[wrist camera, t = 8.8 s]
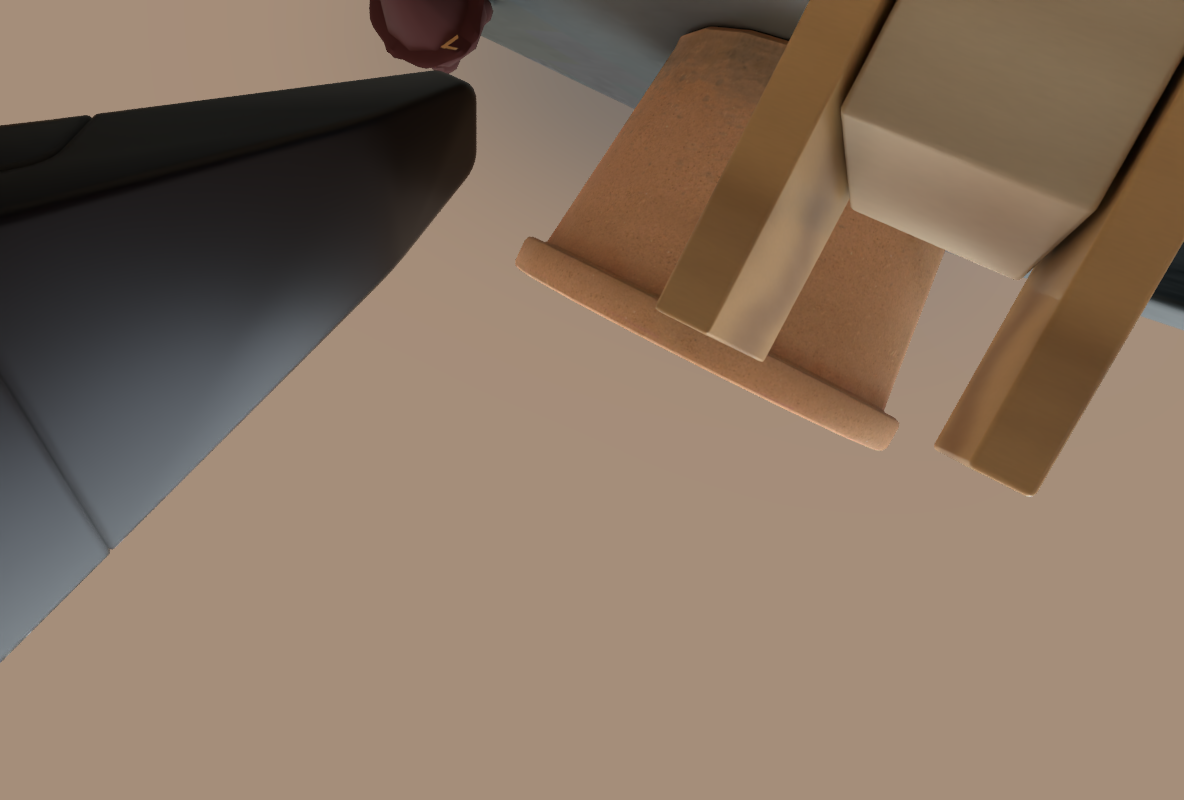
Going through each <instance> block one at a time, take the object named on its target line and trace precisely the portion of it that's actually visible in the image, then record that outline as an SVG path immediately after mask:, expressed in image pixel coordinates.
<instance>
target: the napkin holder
mask: <svg viewBox="0 0 1184 800" xmlns="http://www.w3.org/2000/svg"><path fill="white" fill-rule="evenodd" d="M849 199H850V207H851V208H852V209H853V210H854V211H857V212H859V213H861V214H864V215H866V216H868V217H871V218H873V219H875V220H877V221H880V222H882V223H884V224H887V225H889V226H891V227H894V228H896V229H898V230H900V231H903V232H905V233H907V234H910V235H912V236H914V237H917V238H919V239H921V240H923V241H926V242H928V243H930V244H933V245H935V246H937V247H940V248H942V249H944V250H946V251H949V252H951V253H953V254H956V255H958V256H960V257H963V258H965V259H967V260H969V261H972V262H974V263H976V264H979V265H981V266H983V267H986V268H988V269H991V270H992V271H995V272H997V273H999V274H1002V275H1004V276H1007V277H1009V278H1011V279H1013V280H1020V279H1021V278H1023V277H1024V276H1025V275H1026V274H1027V273H1028V272H1029V271H1030V270H1031V269H1032V268H1033V270H1032V272H1031V273H1030V275H1029V277H1028V279H1027V281H1026V282H1025V284H1024V286H1023V288H1022V289H1021V291H1020V293H1019V295H1018V297H1017V298H1016V300H1015V302H1014V304H1013V305H1012V307H1011V309H1010V311H1009V313H1008V314H1007V316H1006V318H1005V320H1004V322H1003V323H1002V325H1001V327H1000V329H999V331H998V332H997V334H996V336H995V338H994V339H993V341H992V343H991V345H990V346H989V348H988V350H987V352H986V354H985V355H984V357H983V359H982V361H981V362H980V364H979V366H978V368H977V370H976V371H975V373H974V375H973V377H972V378H971V380H970V382H969V384H968V386H967V387H966V389H965V391H964V393H963V394H962V396H961V398H960V400H959V402H958V403H957V405H956V407H955V409H954V410H953V412H952V414H951V416H950V418H949V419H948V421H947V423H946V425H945V426H944V428H943V430H942V432H941V434H940V435H939V437H938V439H937V441H936V443H935V446H934V448H935V449H936V450H937V451H939V452H941V453H943V454H945V455H947V456H948V457H950V458H952V459H954V460H956V461H958V462H960V463H962V464H963V465H965V466H967V467H969V468H971V469H973V470H975V471H977V472H979V473H981V474H983V475H985V476H987V477H989V478H991V479H993V480H995V481H997V482H999V483H1001V484H1003V485H1005V486H1007V487H1009V488H1011V489H1013V490H1015V491H1017V492H1019V493H1021V494H1023V495H1025V496H1029V497H1032V496H1034V495H1035V494H1036V493H1037V492H1038V490H1039V488H1040V487H1041V485H1042V483H1043V481H1044V480H1045V478H1046V476H1047V475H1048V473H1049V471H1050V469H1051V468H1052V466H1053V464H1054V463H1055V461H1056V459H1057V457H1058V456H1059V454H1060V452H1061V451H1062V449H1063V447H1064V446H1065V444H1066V442H1067V440H1068V439H1069V437H1070V435H1071V434H1072V432H1073V430H1074V428H1075V427H1076V425H1077V423H1078V421H1079V420H1080V418H1081V416H1082V415H1083V413H1084V411H1085V410H1086V408H1087V406H1088V404H1089V403H1090V401H1091V399H1092V397H1093V396H1094V394H1095V392H1096V391H1097V389H1098V387H1099V385H1100V384H1101V382H1102V380H1103V379H1104V377H1105V375H1106V374H1107V372H1108V370H1109V368H1110V367H1111V365H1112V363H1113V362H1114V360H1115V358H1116V356H1117V355H1118V353H1119V351H1120V350H1121V348H1122V346H1123V344H1124V343H1125V341H1126V339H1127V338H1128V335H1129V334H1130V332H1131V331H1132V329H1133V327H1134V326H1135V324H1136V322H1137V320H1138V319H1139V317H1140V315H1141V314H1142V312H1143V310H1144V308H1145V307H1146V305H1147V303H1148V302H1149V300H1150V298H1151V296H1152V295H1153V293H1154V291H1155V290H1156V288H1157V286H1158V284H1159V283H1160V281H1161V279H1162V278H1163V276H1164V274H1165V272H1166V271H1167V269H1168V267H1169V266H1170V264H1171V262H1172V260H1173V259H1174V257H1175V255H1176V254H1177V252H1178V250H1179V248H1180V247H1181V245H1182V243H1183V242H1184V0H810V1H809V3H808V5H807V7H806V8H805V10H804V12H803V14H802V16H801V18H800V20H799V22H798V24H797V26H796V28H795V30H794V32H793V34H792V36H791V38H790V40H789V42H788V44H787V46H786V48H785V50H784V52H783V54H782V56H781V58H780V60H779V62H778V64H777V66H776V68H775V70H774V72H773V74H772V76H771V78H770V80H769V82H768V84H767V86H766V88H765V90H764V92H763V94H762V96H761V98H760V100H759V102H758V104H757V106H756V108H755V109H754V111H753V113H752V115H751V117H750V119H749V121H748V123H747V125H746V127H745V129H744V131H743V133H742V135H741V137H740V139H739V141H738V143H737V145H736V147H735V149H734V151H733V153H732V155H731V157H730V159H729V161H728V163H727V165H726V167H725V169H724V171H723V173H722V175H721V177H720V179H719V181H718V183H717V185H716V187H715V189H714V191H713V193H712V195H711V197H710V199H709V201H708V203H707V205H706V207H705V209H704V210H703V212H702V214H701V216H700V218H699V220H698V222H697V224H696V226H695V228H694V230H693V232H692V234H691V236H690V238H689V240H688V242H687V244H686V246H685V248H684V250H683V252H682V254H681V256H680V258H679V260H678V262H677V264H676V266H675V268H674V270H673V272H672V274H671V276H670V278H669V280H668V282H667V284H666V286H665V288H664V290H663V292H662V294H661V296H660V298H659V300H658V302H657V304H656V309H657V310H658V311H659V312H661V313H663V314H665V315H667V316H669V317H671V318H673V319H675V320H677V321H679V322H681V323H683V324H685V325H687V326H689V327H691V328H693V329H695V330H697V331H699V332H701V333H703V334H705V335H707V336H709V337H711V338H713V339H715V340H717V341H719V342H721V343H723V344H725V345H727V346H729V347H731V348H733V349H735V350H738V351H740V352H742V353H744V354H746V355H748V356H750V357H752V358H754V359H756V360H758V361H760V362H763V361H764V360H765V358H766V356H767V354H768V352H769V351H770V349H771V347H772V345H773V343H774V341H775V339H776V337H777V335H778V333H779V332H780V330H781V328H782V326H783V324H784V322H785V320H786V318H787V316H788V315H789V313H790V311H791V309H792V307H793V305H794V303H795V301H796V299H797V297H798V296H799V294H800V292H801V290H802V288H803V286H804V284H805V282H806V280H807V278H808V277H809V275H810V273H811V271H812V269H813V267H814V265H815V263H816V261H817V260H818V258H819V256H820V254H821V252H822V250H823V248H824V246H825V244H826V242H827V241H828V239H829V237H830V235H831V233H832V231H833V229H834V227H835V225H836V223H837V222H838V220H839V218H840V216H841V214H842V212H843V210H844V208H845V206H846V204H847V203H848V201H849Z"/></svg>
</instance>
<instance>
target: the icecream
mask: <svg viewBox="0 0 1184 800" xmlns="http://www.w3.org/2000/svg"><path fill="white" fill-rule="evenodd" d="M369 9H370V20H371V22H372V25H373V27H374V29H375V30H376V32H377V33H378V35H379V36H380V37H381V39H382V40H383V42H384V44H385V47H386V50H387V52H388V53H390V54H391V55H392V56H393V57H394V58H398V59H403V60H405V61H407V62H409V63H411V64H413V65H415V66H418V67H422V68H432V69H433V70H434V71H435V70H437V71H442V72H445V73H447V74H449V73H451V72H452V71H454V70H455V69H457V67H458V64H459V62H460V60H461V59H462V58H463V57H465V56H466V55H467V54H469V53H470V52H472V51H473V50H474V49H476V47H477V44H478V41H479V38H480V36H481V33H482V30H483V27H484V25H485V24H486V23H488V22H489V21H490V20H491V17H492V14H493V10H492V6H491V3H490V2H489V0H370V7H369Z"/></svg>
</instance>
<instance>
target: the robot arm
mask: <svg viewBox="0 0 1184 800" xmlns="http://www.w3.org/2000/svg"><path fill="white" fill-rule="evenodd" d="M475 158H476V95H475V92H474V89H473V88H472V86H471V85H470V84H469V83H467V82H465V81H463V80H461V79H458V78H456V77H454V76H452V75H449V74H447V73H445V72H442V71H437V70H435V71H426V72H418V73H410V74H403V75H395V76H388V77H379V78H372V79H364V80H356V81H349V82H341V83H333V84H325V85H317V86H310V87H302V88H295V89H287V90H279V91H271V92H263V93H255V94H248V95H240V96H232V97H225V98H217V99H209V100H202V101H193V102H186V103H178V104H171V105H162V106H155V107H148V108H139V109H132V110H124V111H116V112H108V113H100V114H96V115H95V116H94V117H93V118H91V117H90V116H87V115H84V116H76V117H68V118H61V119H54V120H45V121H36V122H27V123H18V124H10V125H1V126H0V662H1V661H2V660H4V659H5V657H6V656H8V654H10V653H11V652H12V651H13V650H14V648H16V647H17V646H18V645H19V644H20V643H21V642H22V641H23V639H24V638H26V636H28V635H29V634H30V633H31V631H33V630H34V629H35V628H36V627H37V626H38V624H40V623H41V622H42V621H43V620H44V619H45V618H46V617H47V616H48V615H49V614H50V612H52V610H53V609H55V608H56V607H57V606H58V605H59V603H61V601H63V599H65V598H66V597H67V596H68V595H69V594H70V593H71V592H72V591H73V590H74V589H75V588H76V587H77V586H78V584H80V583H81V582H82V581H83V580H84V579H85V578H86V577H87V576H88V575H89V574H90V573H91V572H92V571H93V570H94V569H95V568H96V567H97V565H99V564H100V563H101V562H102V561H103V560H104V559H105V558H106V557H107V556H108V555H109V553H110V549H114V548H115V547H116V546H117V545H118V544H119V543H120V542H121V541H122V540H123V539H124V538H125V537H126V536H127V535H128V534H129V533H130V532H131V531H132V530H133V529H134V528H135V527H136V526H137V525H138V524H139V523H140V522H141V521H142V520H143V519H144V518H145V517H146V516H147V515H148V514H149V513H150V512H151V511H152V510H153V509H154V508H155V507H156V506H157V505H158V504H159V503H160V502H161V501H162V500H163V499H164V498H165V497H166V496H167V495H168V494H169V493H170V492H171V491H172V490H173V489H174V488H175V487H176V486H177V485H178V484H179V483H180V482H181V481H182V480H183V479H184V478H185V477H186V476H187V475H188V474H189V473H190V472H191V471H192V470H193V469H194V468H195V467H196V466H197V465H198V464H199V463H200V462H201V461H202V460H203V459H204V458H205V457H206V456H207V455H208V454H209V453H210V452H211V451H212V450H213V449H214V448H215V447H216V446H217V445H218V444H219V443H220V442H221V441H222V440H223V439H224V438H225V437H226V436H227V435H228V434H229V433H230V432H231V431H232V430H233V429H234V428H235V427H236V426H237V425H238V424H239V423H240V422H241V421H242V420H243V419H244V418H245V417H246V416H247V415H248V414H249V413H250V412H251V411H252V410H253V409H254V408H255V407H256V406H257V405H258V404H259V403H260V402H261V401H262V400H263V399H264V398H265V397H267V395H269V393H271V392H272V391H273V389H274V388H276V386H278V384H279V383H280V382H281V381H283V380H284V379H285V378H286V377H287V376H288V375H289V374H290V372H291V371H293V370H294V369H295V367H297V366H298V365H299V364H300V363H301V362H302V361H303V360H304V359H305V358H306V357H307V356H308V354H310V353H311V351H312V350H314V349H315V348H316V346H318V345H319V344H320V343H321V342H322V341H323V339H325V338H326V337H327V336H328V335H329V334H330V333H331V331H333V329H335V328H336V327H337V326H338V325H339V324H340V323H341V322H342V321H343V319H345V318H346V317H347V316H348V315H349V314H350V312H352V311H353V310H354V309H355V308H356V307H357V306H358V305H359V304H360V303H361V302H362V301H363V300H364V299H365V298H366V297H367V296H368V295H369V294H370V293H371V292H372V291H373V290H374V289H375V288H376V287H377V286H378V285H379V283H381V281H383V279H384V278H385V277H386V276H387V275H388V274H389V273H390V272H391V271H392V270H393V269H394V267H395V266H396V265H397V264H398V263H399V262H400V260H401V259H402V258H403V257H404V256H405V255H406V253H407V252H408V251H409V249H410V248H411V247H412V246H413V245H414V243H415V242H416V241H417V240H418V238H419V237H420V235H422V233H423V232H424V231H425V229H426V228H427V227H428V226H429V225H430V223H431V222H432V221H433V219H434V218H435V217H436V216H437V214H438V213H439V212H440V211H441V209H442V208H443V207H444V206H445V204H446V203H447V202H448V201H449V199H450V198H451V197H452V196H453V194H454V193H455V192H456V191H457V189H458V188H459V187H460V186H461V184H462V183H463V182H464V181H465V179H466V178H467V176H468V175H469V174H470V172H471V170H472V168H473V165H474V162H475Z"/></svg>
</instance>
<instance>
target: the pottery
mask: <svg viewBox="0 0 1184 800" xmlns="http://www.w3.org/2000/svg"><path fill="white" fill-rule="evenodd" d="M788 42H789V41H787V40H783V39H780V38H777V37H773V36H770V35H766V34H763V33H759V32H756V31H752V30H745V29H733V28H722V27H711V26H710V27H707V28H704V29H701V30H698V31H695V32H692V33H689V34H686V35H683V36H681V37H680V39H679V41H678V43H677V46H676V48H675V49H674V51H673V52H672V54H671V55H670V57H669V58H668V60H667V61H666V63H665V64H664V66H663V67H662V69H661V70H660V72H659V73H658V75H657V76H656V78H655V79H654V81H653V82H652V84H651V85H650V87H649V88H648V90H647V91H646V93H645V95H644V96H643V98H642V99H641V101H640V102H639V104H638V105H637V107H636V108H635V110H634V111H633V113H632V114H631V116H630V117H629V119H628V120H627V122H626V123H625V125H624V126H623V128H622V129H621V131H620V132H619V134H618V136H617V137H616V138H615V140H614V142H613V143H612V145H611V146H610V148H609V149H608V151H607V152H606V154H605V155H604V157H603V158H602V160H601V161H600V163H599V164H598V166H597V167H596V169H595V170H594V172H593V173H592V175H591V176H590V178H589V179H588V181H587V182H586V184H585V186H584V187H583V189H582V190H581V191H580V193H579V195H578V196H577V198H576V199H575V201H574V202H573V204H572V205H571V207H570V208H569V210H568V211H567V213H566V214H565V216H564V217H563V219H562V220H561V222H560V223H559V225H558V226H557V228H556V229H555V231H554V232H553V234H552V235H551V237H550V238H549V240H548V241H547V242H543V241H541V240H539V239H536V238H534V237H528V238H527V239H526V240H525V241H524V243H523V246H522V248H521V250H520V252H519V254H518V256H517V258H516V266H517V267H518V268H519V269H520V270H521V271H523V272H524V273H526V274H527V275H528V276H530V277H531V278H533V279H535V280H536V281H538V282H540V283H542V284H543V285H545V286H547V287H549V288H551V289H553V290H554V291H556V292H558V293H560V294H561V295H563V296H565V297H567V298H568V299H570V300H572V301H574V302H576V303H578V304H579V305H582V306H584V307H585V308H587V309H589V310H591V311H593V312H595V313H596V314H598V315H600V316H602V317H604V318H606V319H608V320H610V321H612V322H613V323H615V324H617V325H619V326H621V327H623V328H625V329H627V330H629V331H631V332H632V333H634V334H636V335H638V336H640V337H642V338H644V339H646V340H648V341H650V342H652V343H654V344H656V345H658V346H660V347H662V348H664V349H665V350H667V351H669V352H671V353H674V354H675V355H677V356H679V357H681V358H683V359H685V360H687V361H689V362H691V363H693V364H695V365H697V366H699V367H701V368H703V369H705V370H707V371H709V372H711V373H713V374H715V375H717V376H719V377H721V378H723V379H725V380H727V381H729V382H731V383H733V384H735V385H737V386H739V387H741V388H743V389H745V390H747V391H749V392H751V393H753V394H755V395H757V396H759V397H761V398H763V399H766V400H767V401H769V402H771V403H773V404H775V405H778V406H779V407H782V408H783V409H786V410H788V411H790V412H792V413H794V414H796V415H798V416H800V417H802V418H804V419H807V420H809V421H811V422H813V423H815V424H817V425H819V426H822V427H824V428H826V429H828V430H830V431H832V432H834V433H836V434H838V435H840V436H843V437H845V438H847V439H849V440H852V441H854V442H857V443H859V444H861V445H864V446H866V447H868V448H871V449H873V450H878V451H882V450H884V449H885V448H887V447H888V446H889V444H890V442H891V440H892V438H893V437H894V435H895V433H896V431H897V430H898V427H899V423H898V421H897V420H896V419H895V418H894V417H892V416H890V415H888V414H886V413H885V412H884V409H885V406H886V403H887V400H888V398H889V395H890V393H891V390H892V388H893V385H894V382H895V379H896V377H897V375H898V372H899V369H900V367H901V364H902V361H903V359H904V356H905V354H906V351H907V348H908V346H909V343H910V341H911V338H912V335H913V333H914V330H915V328H916V325H917V322H918V320H919V317H920V315H921V312H922V309H923V307H924V304H925V301H926V299H927V296H928V293H929V291H930V288H931V286H932V283H933V281H934V278H935V275H936V273H937V270H938V268H939V265H940V262H941V260H942V257H943V254H944V252H945V250H944V249H942V248H940V247H937V246H935V245H933V244H930V243H928V242H926V241H923V240H921V239H919V238H917V237H914V236H912V235H910V234H907V233H905V232H903V231H900V230H898V229H896V228H894V227H891V226H889V225H887V224H884V223H882V222H880V221H877V220H875V219H873V218H871V217H868V216H866V215H864V214H861V213H859V212H857V211H854V210H853V209H852V208H851V207H850V199H849V201H848V203H847V204H846V206H845V208H844V210H843V212H842V214H841V216H840V218H839V220H838V222H837V223H836V225H835V227H834V229H833V231H832V233H831V235H830V237H829V239H828V241H827V242H826V244H825V246H824V248H823V250H822V252H821V254H820V256H819V258H818V260H817V261H816V263H815V265H814V267H813V269H812V271H811V273H810V275H809V277H808V278H807V280H806V282H805V284H804V286H803V288H802V290H801V292H800V294H799V296H798V297H797V299H796V301H795V303H794V305H793V307H792V309H791V311H790V313H789V315H788V316H787V318H786V320H785V322H784V324H783V326H782V328H781V330H780V332H779V333H778V335H777V337H776V339H775V341H774V343H773V345H772V347H771V349H770V351H769V352H768V354H767V356H766V358H765V360H764V361H763V362H760V361H758V360H756V359H754V358H752V357H750V356H748V355H746V354H744V353H742V352H740V351H738V350H735V349H733V348H731V347H729V346H727V345H725V344H723V343H721V342H719V341H717V340H715V339H713V338H711V337H709V336H707V335H705V334H703V333H701V332H699V331H697V330H695V329H693V328H691V327H689V326H687V325H685V324H683V323H681V322H679V321H677V320H675V319H673V318H671V317H669V316H667V315H665V314H663V313H661V312H659V311H658V310H657V309H656V304H657V302H658V300H659V298H660V296H661V294H662V292H663V290H664V288H665V286H666V284H667V282H668V280H669V278H670V276H671V274H672V272H673V270H674V268H675V266H676V264H677V262H678V260H679V258H680V256H681V254H682V252H683V250H684V248H685V246H686V244H687V242H688V240H689V238H690V236H691V234H692V232H693V230H694V228H695V226H696V224H697V222H698V220H699V218H700V216H701V214H702V212H703V210H704V209H705V207H706V205H707V203H708V201H709V199H710V197H711V195H712V193H713V191H714V189H715V187H716V185H717V183H718V181H719V179H720V177H721V175H722V173H723V171H724V169H725V167H726V165H727V163H728V161H729V159H730V157H731V155H732V153H733V151H734V149H735V147H736V145H737V143H738V141H739V139H740V137H741V135H742V133H743V131H744V129H745V127H746V125H747V123H748V121H749V119H750V117H751V115H752V113H753V111H754V109H755V108H756V106H757V104H758V102H759V100H760V98H761V96H762V94H763V92H764V90H765V88H766V86H767V84H768V82H769V80H770V78H771V76H772V74H773V72H774V70H775V68H776V66H777V64H778V62H779V60H780V58H781V56H782V54H783V52H784V50H785V48H786V46H787V44H788Z"/></svg>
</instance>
